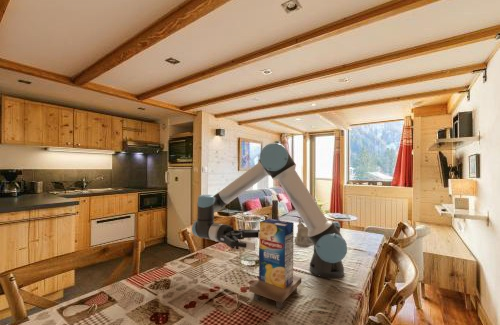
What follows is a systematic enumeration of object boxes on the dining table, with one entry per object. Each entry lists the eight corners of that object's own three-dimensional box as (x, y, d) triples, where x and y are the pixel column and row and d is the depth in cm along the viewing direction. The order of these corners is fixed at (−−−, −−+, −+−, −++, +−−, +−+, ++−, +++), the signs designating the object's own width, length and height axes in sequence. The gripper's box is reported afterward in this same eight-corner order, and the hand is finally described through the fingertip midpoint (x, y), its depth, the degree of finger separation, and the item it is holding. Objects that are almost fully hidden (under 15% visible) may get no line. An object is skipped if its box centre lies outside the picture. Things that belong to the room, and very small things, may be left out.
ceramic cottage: (293, 245, 148) (295, 220, 148) (294, 238, 164) (296, 216, 164) (319, 249, 144) (321, 223, 145) (318, 241, 160) (320, 219, 161)
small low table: (271, 281, 101) (271, 269, 101) (301, 290, 94) (301, 277, 94) (249, 299, 87) (249, 285, 87) (281, 312, 79) (282, 296, 79)
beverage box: (284, 288, 85) (285, 226, 85) (258, 279, 91) (259, 221, 92) (293, 281, 90) (293, 222, 91) (268, 273, 97) (268, 218, 97)
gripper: (238, 235, 115) (278, 243, 103) (201, 249, 94) (245, 262, 83) (238, 219, 115) (278, 225, 104) (201, 230, 94) (245, 240, 83)
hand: (264, 242), depth 93 cm, fingers open, 13 cm apart
